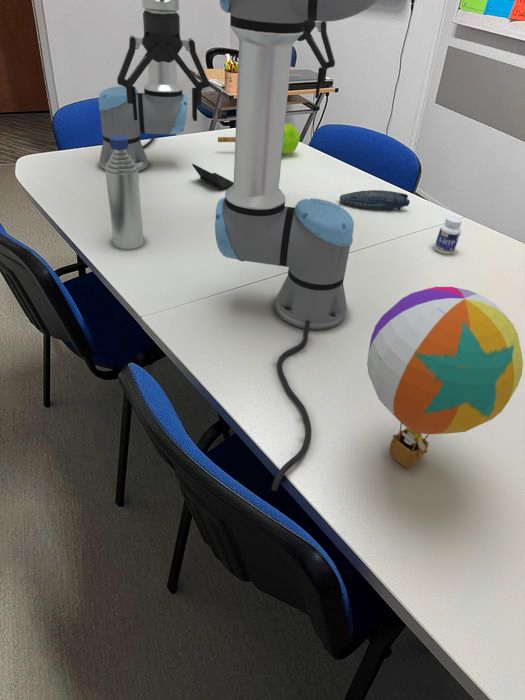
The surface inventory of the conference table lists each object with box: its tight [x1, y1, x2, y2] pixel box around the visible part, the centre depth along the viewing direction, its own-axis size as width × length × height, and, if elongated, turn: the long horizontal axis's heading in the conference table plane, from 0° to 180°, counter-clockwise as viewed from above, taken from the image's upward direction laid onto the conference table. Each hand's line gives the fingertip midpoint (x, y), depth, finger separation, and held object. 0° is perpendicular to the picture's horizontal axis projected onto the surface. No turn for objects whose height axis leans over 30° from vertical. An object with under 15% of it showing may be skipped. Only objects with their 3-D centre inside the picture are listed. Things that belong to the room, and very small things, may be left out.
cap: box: [110, 135, 128, 150], centre depth 115 cm, size 4×4×2 cm
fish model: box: [339, 189, 411, 211], centre depth 158 cm, size 7×21×5 cm, turn 84°
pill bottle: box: [434, 215, 463, 255], centre depth 137 cm, size 5×5×9 cm
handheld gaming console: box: [191, 163, 234, 191], centre depth 163 cm, size 12×7×10 cm
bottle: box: [104, 149, 144, 250], centre depth 123 cm, size 7×7×25 cm
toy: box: [366, 286, 524, 469], centre depth 73 cm, size 20×20×30 cm
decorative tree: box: [217, 123, 301, 155], centre depth 187 cm, size 18×10×30 cm
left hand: (165, 119), depth 121 cm, fingers open, 13 cm apart
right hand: (290, 94), depth 132 cm, fingers open, 13 cm apart
